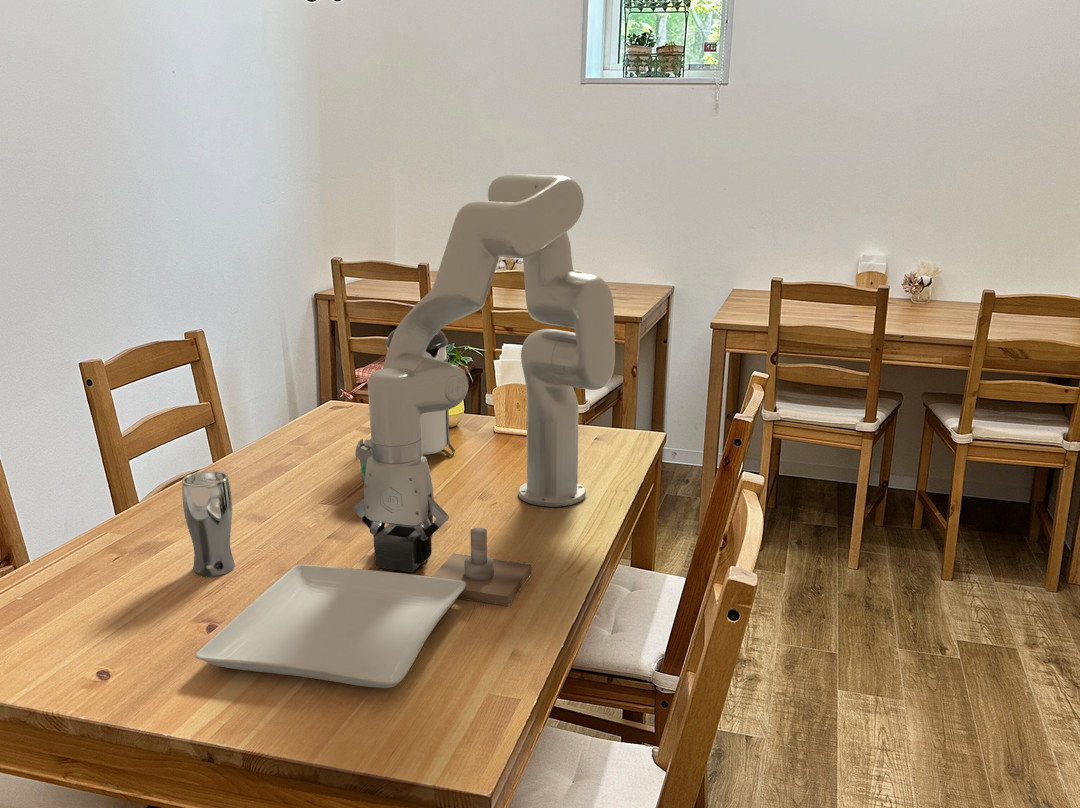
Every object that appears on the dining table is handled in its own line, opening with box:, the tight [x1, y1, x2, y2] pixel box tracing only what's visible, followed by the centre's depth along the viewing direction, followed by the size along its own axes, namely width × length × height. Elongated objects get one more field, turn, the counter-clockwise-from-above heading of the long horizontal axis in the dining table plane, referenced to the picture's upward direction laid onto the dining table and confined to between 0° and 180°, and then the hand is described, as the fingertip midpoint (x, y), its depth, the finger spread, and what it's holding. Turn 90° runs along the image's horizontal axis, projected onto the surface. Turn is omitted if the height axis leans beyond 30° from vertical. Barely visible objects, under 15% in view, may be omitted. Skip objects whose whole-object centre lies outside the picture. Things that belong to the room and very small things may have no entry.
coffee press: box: [385, 328, 456, 457], centre depth 192 cm, size 17×16×30 cm
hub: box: [373, 524, 422, 573], centre depth 143 cm, size 6×6×5 cm
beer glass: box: [181, 470, 236, 578], centre depth 140 cm, size 7×7×15 cm
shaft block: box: [430, 527, 533, 607], centre depth 136 cm, size 11×13×8 cm
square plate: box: [194, 564, 466, 689], centre depth 122 cm, size 27×27×4 cm
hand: (403, 556), depth 143 cm, fingers closed on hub, 6 cm apart
